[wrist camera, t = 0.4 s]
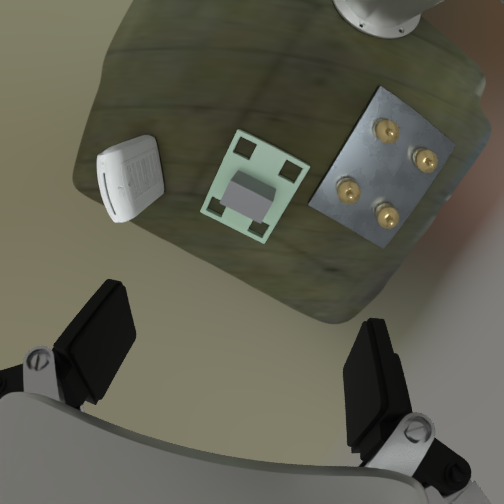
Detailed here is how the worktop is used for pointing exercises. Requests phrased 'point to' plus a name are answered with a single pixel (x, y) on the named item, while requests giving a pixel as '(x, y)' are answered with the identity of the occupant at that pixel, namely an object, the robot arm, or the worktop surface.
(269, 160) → the board
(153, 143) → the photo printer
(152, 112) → the worktop surface
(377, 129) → the plate
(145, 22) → the worktop surface
